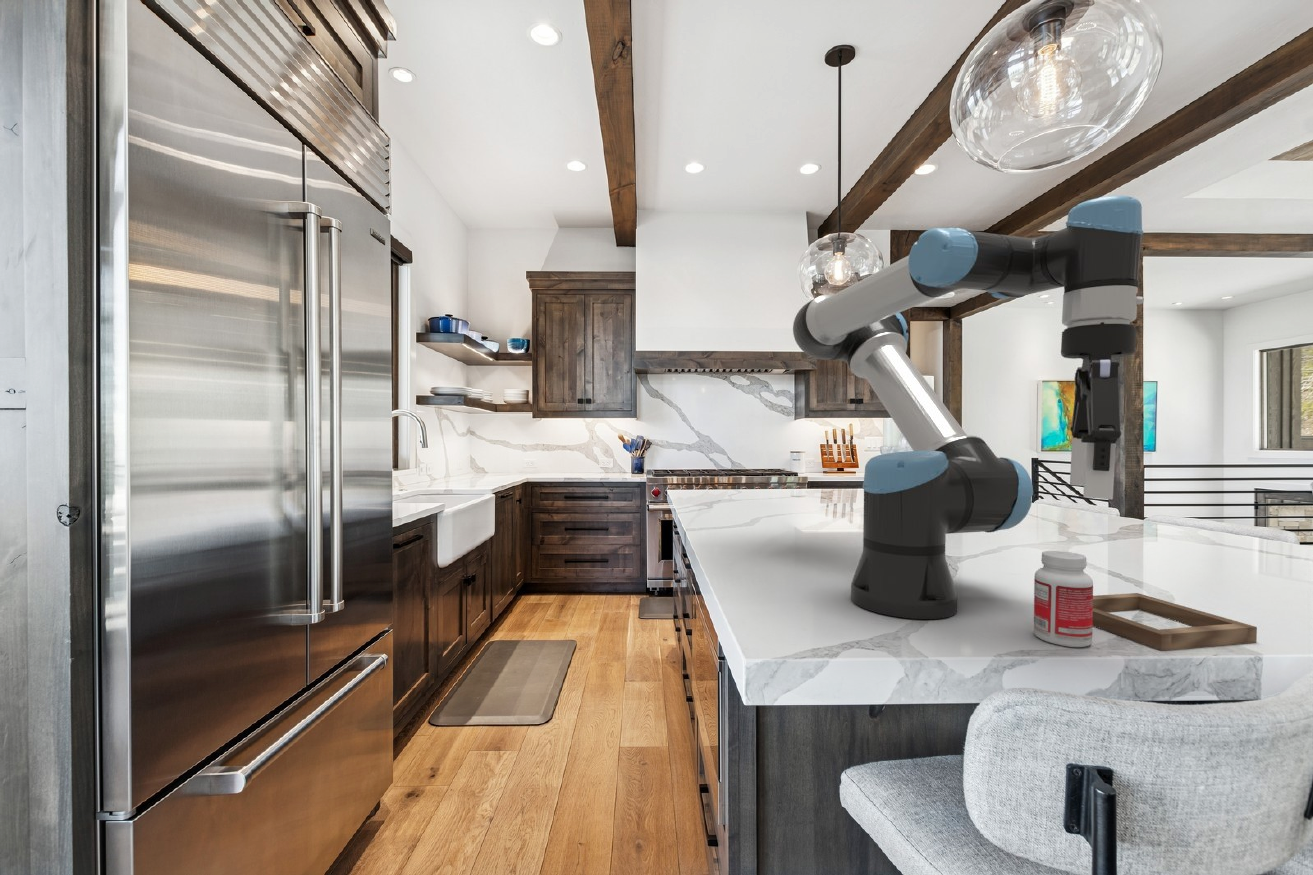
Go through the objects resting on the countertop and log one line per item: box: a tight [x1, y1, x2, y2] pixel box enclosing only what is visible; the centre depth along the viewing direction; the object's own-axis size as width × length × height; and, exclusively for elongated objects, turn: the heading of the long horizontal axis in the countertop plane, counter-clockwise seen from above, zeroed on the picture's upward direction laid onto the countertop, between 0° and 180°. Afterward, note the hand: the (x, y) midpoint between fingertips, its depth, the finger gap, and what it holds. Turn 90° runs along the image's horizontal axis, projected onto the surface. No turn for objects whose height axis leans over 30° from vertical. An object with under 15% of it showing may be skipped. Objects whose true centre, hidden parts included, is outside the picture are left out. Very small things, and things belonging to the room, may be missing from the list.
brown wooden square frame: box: [1092, 592, 1258, 651], centre depth 79 cm, size 15×15×2 cm
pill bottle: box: [1033, 550, 1094, 648], centre depth 74 cm, size 6×6×11 cm
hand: (1089, 491), depth 74 cm, fingers open, 13 cm apart
